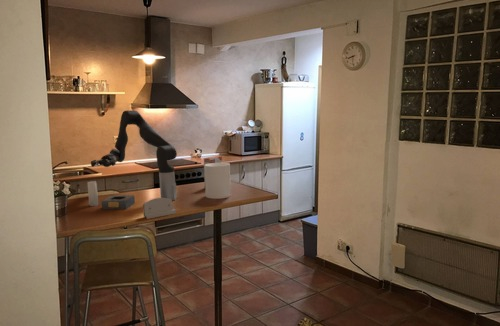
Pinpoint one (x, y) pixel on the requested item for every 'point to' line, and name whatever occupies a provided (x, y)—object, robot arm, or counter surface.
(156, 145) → the robot arm
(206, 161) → the cracker box
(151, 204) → the hinge
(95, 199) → the peg
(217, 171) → the canister
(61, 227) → the counter surface
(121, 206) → the socket block
